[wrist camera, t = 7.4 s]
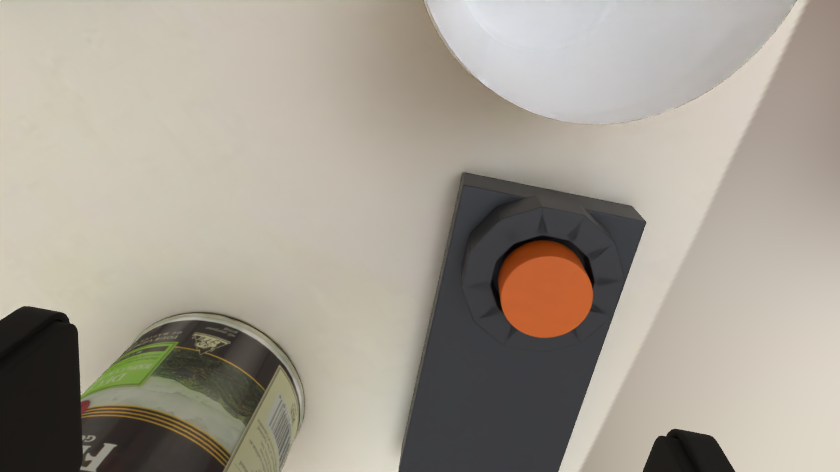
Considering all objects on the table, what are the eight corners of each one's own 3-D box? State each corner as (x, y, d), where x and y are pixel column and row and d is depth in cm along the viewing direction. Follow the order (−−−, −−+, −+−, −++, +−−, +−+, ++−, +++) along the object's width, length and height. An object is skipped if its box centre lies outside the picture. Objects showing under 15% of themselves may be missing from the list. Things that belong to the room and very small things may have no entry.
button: (509, 232, 24) (512, 247, 22) (595, 249, 24) (605, 266, 22) (489, 308, 25) (491, 328, 23) (570, 324, 25) (578, 346, 23)
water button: (464, 166, 27) (464, 191, 23) (634, 200, 27) (662, 230, 23) (402, 444, 32) (394, 500, 29) (542, 472, 32) (552, 531, 29)
